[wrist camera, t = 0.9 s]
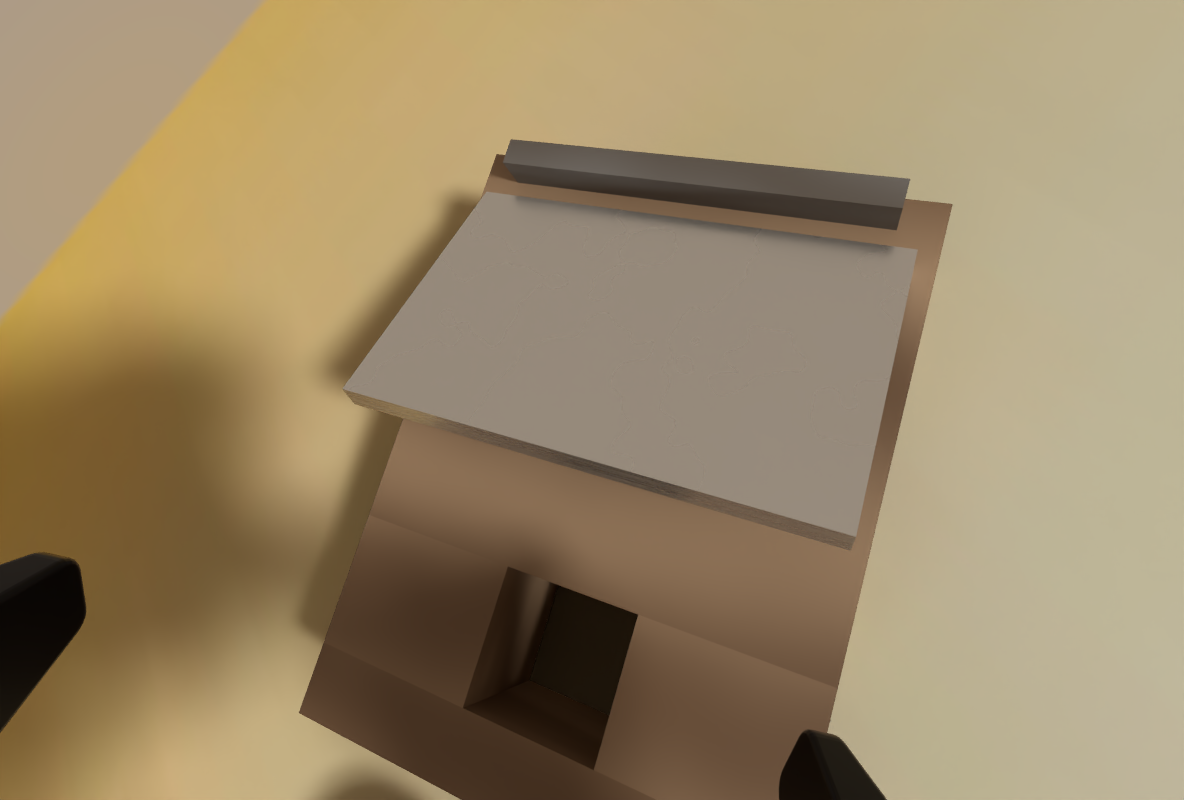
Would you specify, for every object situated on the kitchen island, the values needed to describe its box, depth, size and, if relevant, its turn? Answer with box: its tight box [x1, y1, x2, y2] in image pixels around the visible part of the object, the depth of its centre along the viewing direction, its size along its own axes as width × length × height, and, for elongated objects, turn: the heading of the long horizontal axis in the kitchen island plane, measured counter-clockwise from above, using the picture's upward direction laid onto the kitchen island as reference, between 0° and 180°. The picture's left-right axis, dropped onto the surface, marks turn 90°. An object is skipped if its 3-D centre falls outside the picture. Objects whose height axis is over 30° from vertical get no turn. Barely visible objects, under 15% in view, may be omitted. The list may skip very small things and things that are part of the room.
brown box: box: [299, 139, 952, 800], centre depth 17 cm, size 16×12×5 cm
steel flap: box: [343, 192, 918, 551], centre depth 15 cm, size 7×11×1 cm, turn 72°
